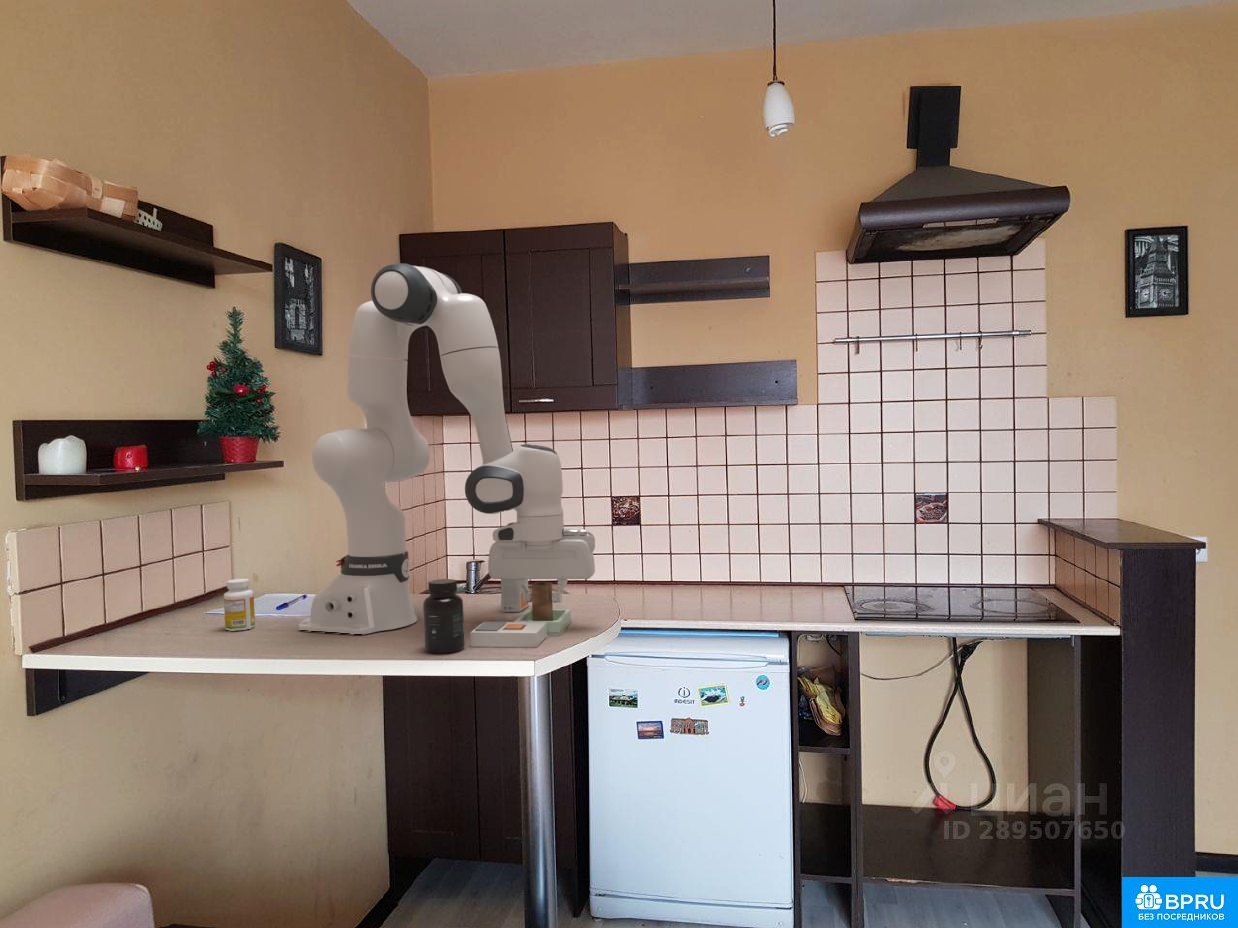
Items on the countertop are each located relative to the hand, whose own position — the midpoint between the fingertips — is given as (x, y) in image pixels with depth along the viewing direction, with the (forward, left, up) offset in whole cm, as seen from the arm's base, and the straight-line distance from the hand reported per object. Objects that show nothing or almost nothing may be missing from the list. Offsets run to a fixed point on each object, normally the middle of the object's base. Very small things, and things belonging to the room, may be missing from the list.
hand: (542, 601), depth 157 cm
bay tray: (0, 0, -5) cm, 5 cm away
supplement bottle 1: (-61, -3, -5) cm, 61 cm away
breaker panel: (-4, -10, -5) cm, 12 cm away
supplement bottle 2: (-14, -16, -5) cm, 21 cm away
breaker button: (-3, -9, -5) cm, 11 cm away
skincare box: (-10, +16, -5) cm, 20 cm away
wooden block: (0, 0, -4) cm, 4 cm away
